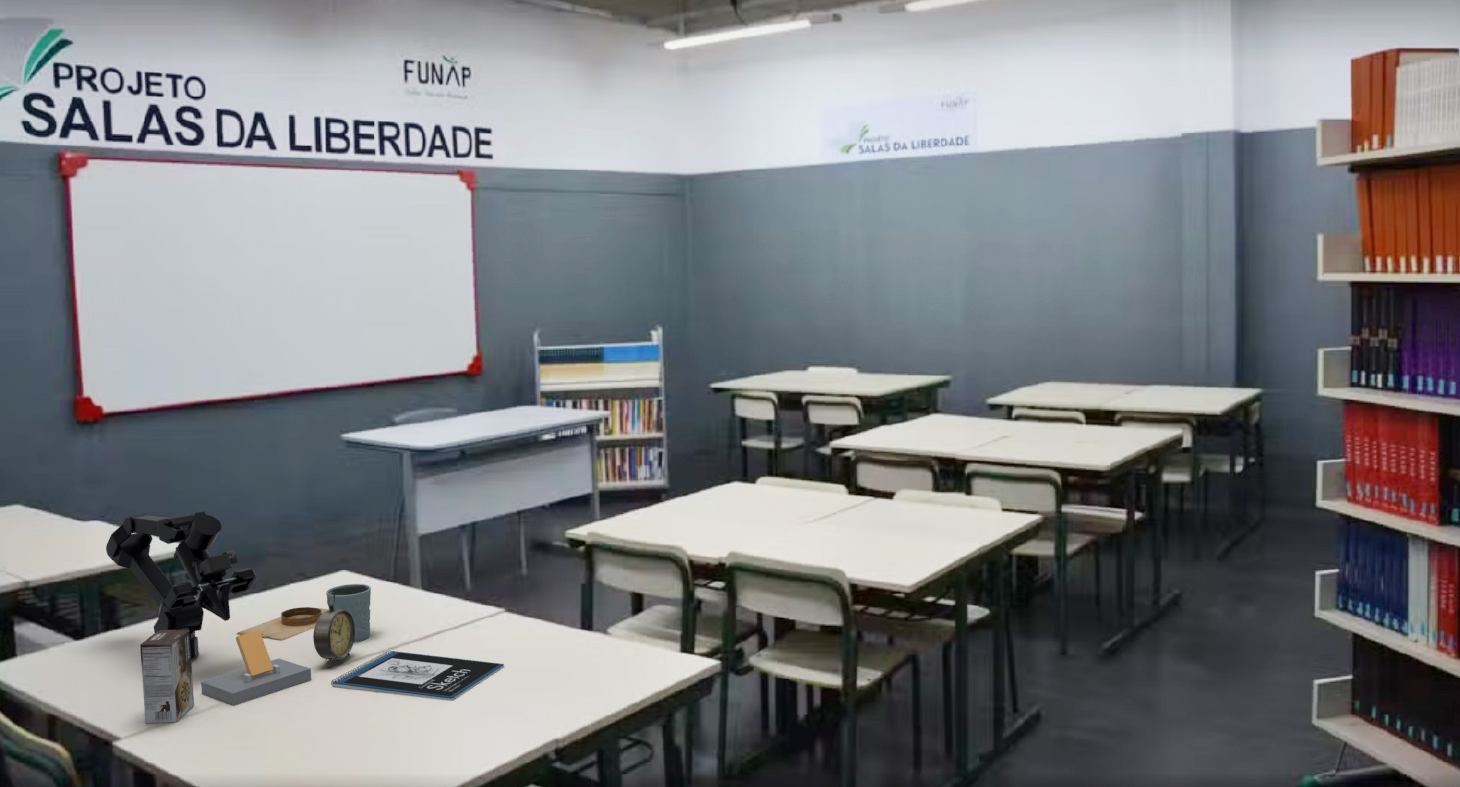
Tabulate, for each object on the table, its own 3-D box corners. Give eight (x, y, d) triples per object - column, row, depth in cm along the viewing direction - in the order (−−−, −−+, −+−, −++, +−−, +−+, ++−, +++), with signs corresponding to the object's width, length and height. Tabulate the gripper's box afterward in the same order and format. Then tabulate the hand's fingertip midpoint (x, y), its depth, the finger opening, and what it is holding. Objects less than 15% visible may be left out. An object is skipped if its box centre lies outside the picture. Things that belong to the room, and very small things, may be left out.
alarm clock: (332, 670, 253) (328, 599, 252) (310, 669, 254) (306, 598, 253) (357, 654, 264) (354, 586, 262) (336, 653, 265) (333, 585, 263)
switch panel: (201, 693, 240) (200, 675, 240) (279, 669, 255) (278, 651, 254) (233, 705, 233) (232, 686, 233) (311, 679, 248) (310, 661, 247)
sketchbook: (452, 704, 234) (451, 694, 234) (328, 689, 244) (328, 680, 243) (504, 669, 255) (503, 660, 254) (388, 656, 264) (387, 648, 264)
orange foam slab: (249, 677, 241) (235, 638, 243) (270, 670, 245) (257, 631, 247) (251, 675, 240) (237, 636, 242) (273, 669, 244) (259, 630, 246)
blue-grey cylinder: (381, 635, 278) (379, 587, 277) (347, 646, 270) (345, 597, 269) (353, 629, 284) (351, 581, 283) (319, 640, 275) (317, 591, 274)
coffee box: (162, 706, 233) (157, 629, 231) (195, 705, 233) (190, 628, 232) (143, 724, 224) (138, 643, 222) (177, 722, 224) (172, 642, 223)
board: (307, 609, 304) (306, 597, 303) (353, 614, 298) (353, 602, 298) (235, 636, 281) (234, 624, 280) (283, 643, 275) (282, 630, 275)
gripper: (168, 549, 242) (199, 608, 237) (249, 532, 257) (280, 588, 252) (151, 580, 248) (181, 638, 242) (232, 562, 263) (262, 617, 257)
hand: (227, 619), depth 248 cm, fingers closed
